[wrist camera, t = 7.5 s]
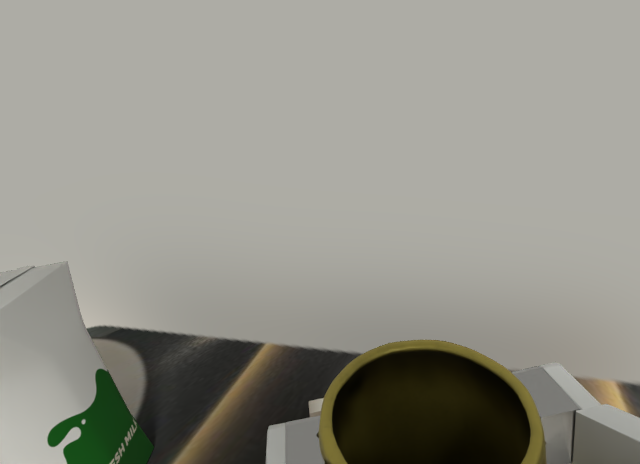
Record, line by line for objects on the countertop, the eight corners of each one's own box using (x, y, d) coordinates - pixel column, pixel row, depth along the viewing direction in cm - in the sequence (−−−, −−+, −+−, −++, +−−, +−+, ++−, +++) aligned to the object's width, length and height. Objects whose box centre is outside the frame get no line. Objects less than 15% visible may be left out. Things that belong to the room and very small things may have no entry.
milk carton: (74, 450, 34) (-50, 250, 27) (170, 436, 34) (69, 227, 26) (-4, 566, 26) (-211, 325, 19) (120, 552, 25) (-47, 295, 18)
